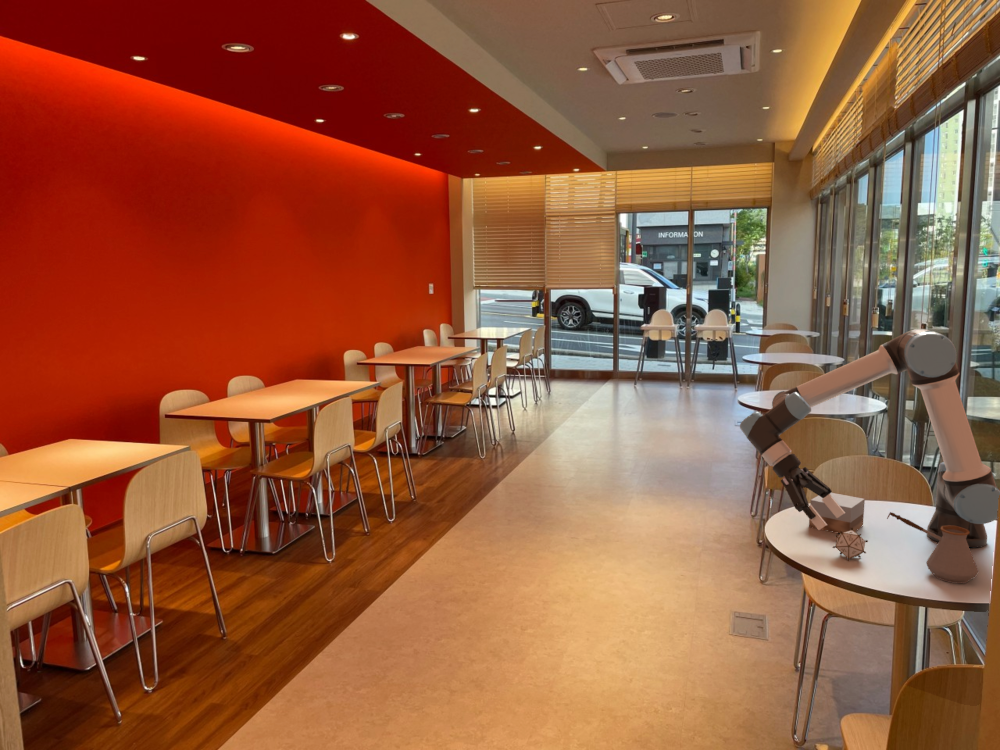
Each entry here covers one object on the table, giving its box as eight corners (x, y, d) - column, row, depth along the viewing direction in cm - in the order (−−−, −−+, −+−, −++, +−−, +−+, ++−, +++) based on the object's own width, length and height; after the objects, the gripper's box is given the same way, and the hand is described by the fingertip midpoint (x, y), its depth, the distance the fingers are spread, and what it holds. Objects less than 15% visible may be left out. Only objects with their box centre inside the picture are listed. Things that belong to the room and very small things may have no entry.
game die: (856, 572, 205) (878, 551, 198) (828, 562, 205) (849, 541, 198) (851, 547, 212) (872, 526, 205) (823, 536, 212) (844, 515, 205)
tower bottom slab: (862, 526, 231) (863, 512, 231) (849, 536, 223) (850, 522, 222) (823, 518, 239) (824, 504, 239) (808, 527, 231) (809, 513, 230)
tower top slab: (863, 512, 231) (864, 498, 230) (850, 522, 222) (851, 507, 221) (824, 505, 239) (824, 491, 238) (809, 514, 230) (810, 499, 229)
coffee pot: (977, 574, 194) (982, 518, 192) (977, 590, 184) (982, 532, 182) (885, 558, 205) (889, 505, 203) (881, 572, 196) (885, 517, 194)
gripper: (790, 459, 227) (838, 517, 218) (753, 475, 209) (804, 540, 201) (808, 445, 222) (858, 504, 214) (772, 460, 204) (825, 525, 196)
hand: (832, 521), depth 207 cm, fingers open, 13 cm apart
